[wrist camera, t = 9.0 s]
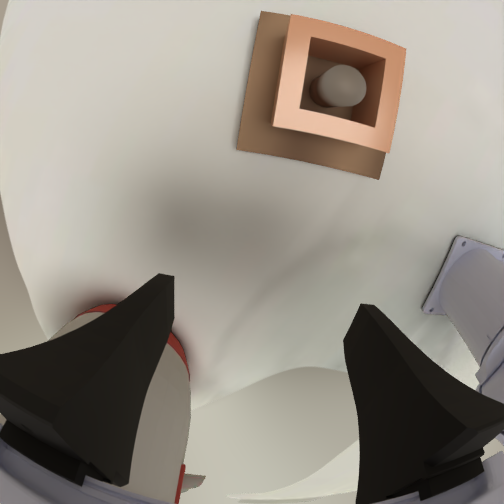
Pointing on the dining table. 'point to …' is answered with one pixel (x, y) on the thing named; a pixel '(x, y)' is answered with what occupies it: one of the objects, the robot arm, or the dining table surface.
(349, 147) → the post stand
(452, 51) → the dining table surface
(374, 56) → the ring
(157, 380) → the citrus juicer
